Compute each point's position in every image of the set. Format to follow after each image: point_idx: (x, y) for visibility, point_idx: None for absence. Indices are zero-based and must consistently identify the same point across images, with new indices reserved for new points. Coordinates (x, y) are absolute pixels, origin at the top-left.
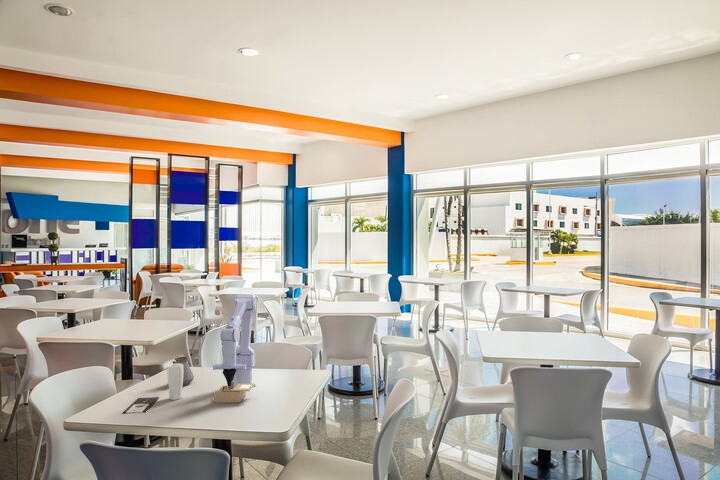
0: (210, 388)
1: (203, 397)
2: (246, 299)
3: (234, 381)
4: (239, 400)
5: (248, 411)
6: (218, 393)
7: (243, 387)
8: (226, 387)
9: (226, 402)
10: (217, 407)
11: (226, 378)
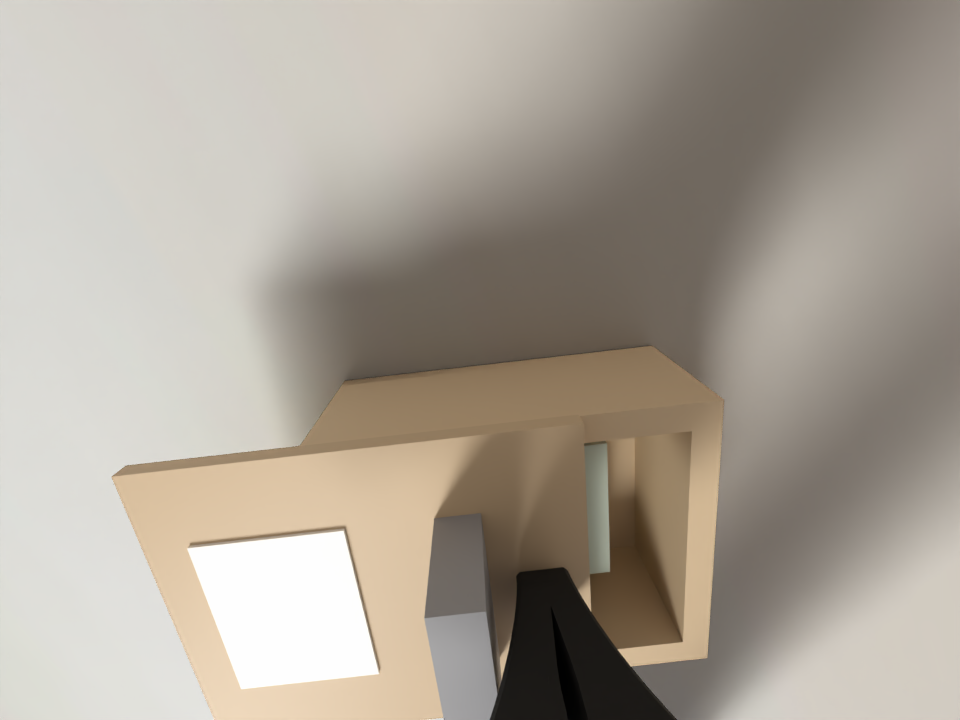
0: (840, 712)
1: (844, 489)
2: None
3: (432, 649)
4: (341, 390)
5: (38, 76)
6: (651, 395)
7: (288, 575)
8: (583, 549)
9: (510, 363)
10: (554, 184)
11: (624, 688)
